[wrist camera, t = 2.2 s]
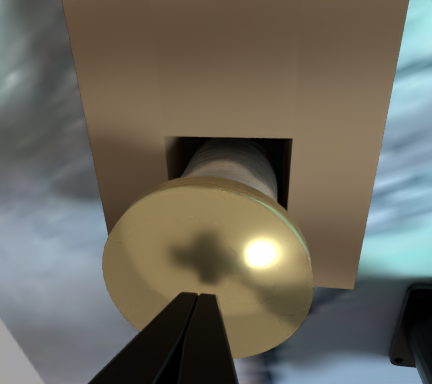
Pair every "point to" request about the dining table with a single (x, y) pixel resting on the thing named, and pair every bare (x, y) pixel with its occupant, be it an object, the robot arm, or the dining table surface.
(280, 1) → the block
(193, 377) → the robot arm
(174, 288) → the peg
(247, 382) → the dining table surface
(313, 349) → the dining table surface
